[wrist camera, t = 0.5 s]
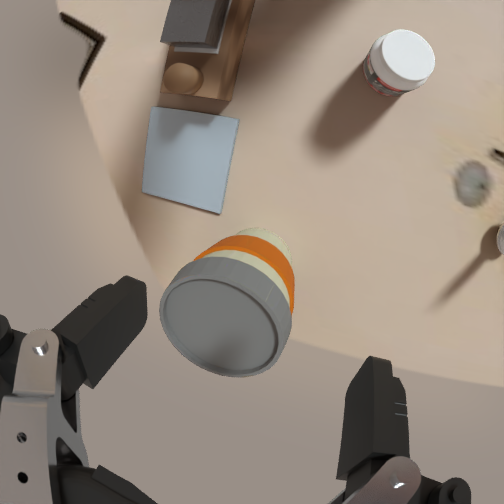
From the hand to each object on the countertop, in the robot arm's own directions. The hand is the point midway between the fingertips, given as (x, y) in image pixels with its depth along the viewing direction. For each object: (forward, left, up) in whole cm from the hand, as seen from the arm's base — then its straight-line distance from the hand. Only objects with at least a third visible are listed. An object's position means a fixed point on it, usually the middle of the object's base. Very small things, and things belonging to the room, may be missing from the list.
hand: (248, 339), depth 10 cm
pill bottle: (-15, +5, -27) cm, 31 cm away
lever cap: (-17, -15, -22) cm, 31 cm away
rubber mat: (+1, -16, -27) cm, 31 cm away
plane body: (-17, -15, -27) cm, 35 cm away
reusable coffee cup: (+12, -4, -27) cm, 29 cm away
